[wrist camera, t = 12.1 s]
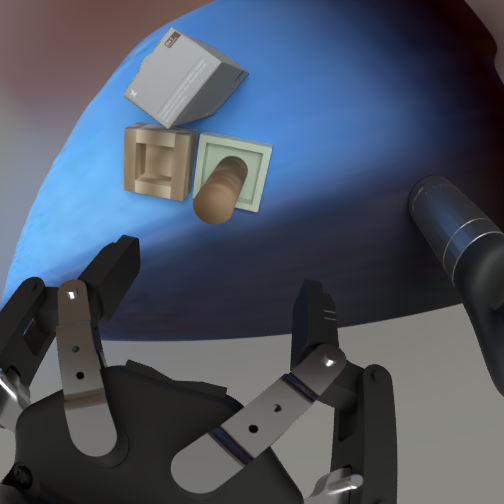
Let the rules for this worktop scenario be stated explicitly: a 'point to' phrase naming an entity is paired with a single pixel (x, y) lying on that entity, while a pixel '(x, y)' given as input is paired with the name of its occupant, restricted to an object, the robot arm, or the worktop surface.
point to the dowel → (221, 191)
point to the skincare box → (184, 80)
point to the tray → (248, 150)
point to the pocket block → (159, 160)
